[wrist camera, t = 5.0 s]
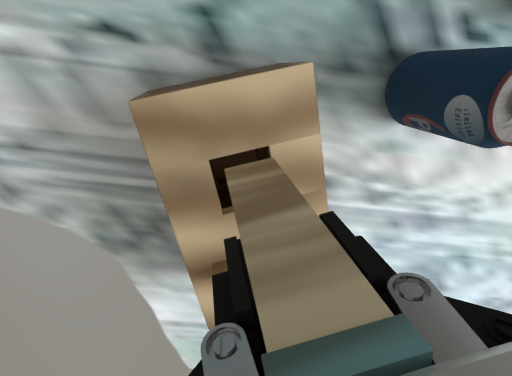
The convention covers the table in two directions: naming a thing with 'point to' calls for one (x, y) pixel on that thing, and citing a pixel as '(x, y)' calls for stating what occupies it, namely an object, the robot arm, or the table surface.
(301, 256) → the block
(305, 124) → the lid
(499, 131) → the soda can
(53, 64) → the table surface
